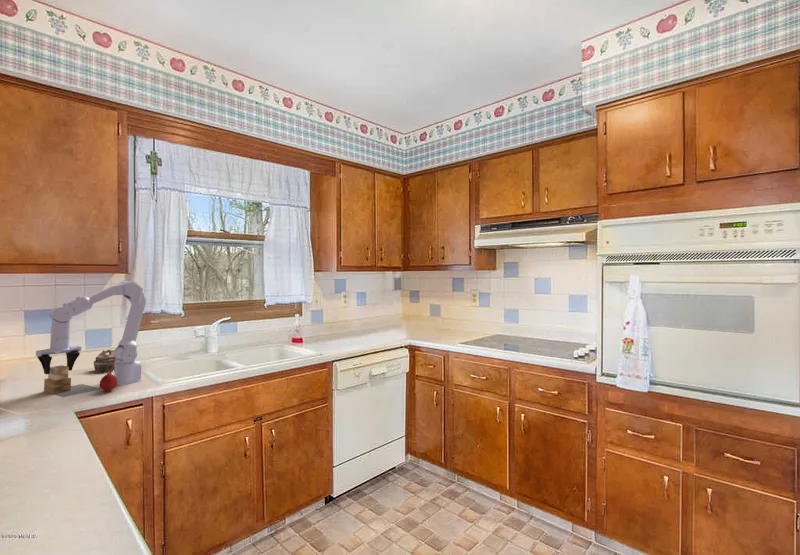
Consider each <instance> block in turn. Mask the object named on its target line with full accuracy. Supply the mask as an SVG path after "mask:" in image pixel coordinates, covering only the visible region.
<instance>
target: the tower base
mask: <svg viewBox="0 0 800 555" xmlns="http://www.w3.org/2000/svg"><path fill="white" fill-rule="evenodd" d="M71 386H72V383H71V384H70V385H64V386H59V387H54V388H53V387H49V386H45V385H44V384H43V391H44V392H43V393H47V394H50V395H54V394H56V393H61V392H66V391H71Z"/></svg>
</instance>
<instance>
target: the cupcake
mask: <svg viewBox="0 0 800 555" xmlns="http://www.w3.org/2000/svg"><path fill="white" fill-rule="evenodd" d="M114 350H115V349H114ZM114 350H110V349H108V350H102V351H101V352H100V353H99V354H98V355H96V357H95V360H94V361H93V368H94V373H96V372H97V373H98V374H103V373H102V372H108V373H109V372H110V371H113V370H115V361H116V358H115V357H114ZM113 372H114V371H113Z"/></svg>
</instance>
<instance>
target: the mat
mask: <svg viewBox="0 0 800 555" xmlns="http://www.w3.org/2000/svg"><path fill="white" fill-rule="evenodd" d="M99 390H102V389H101V387H98V386H92V385H90V384H89V385H88V384H84V383H81V384H75V385H74V384H73V385H71V391H66V392H61V393H56V394H53V396H58V397H62V398H65V397H71V396H74V395H75V396H76V395H80V394H85V393H89V392H94V391H99ZM42 392H43V393H45V392H44V390H43V391H42Z"/></svg>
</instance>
